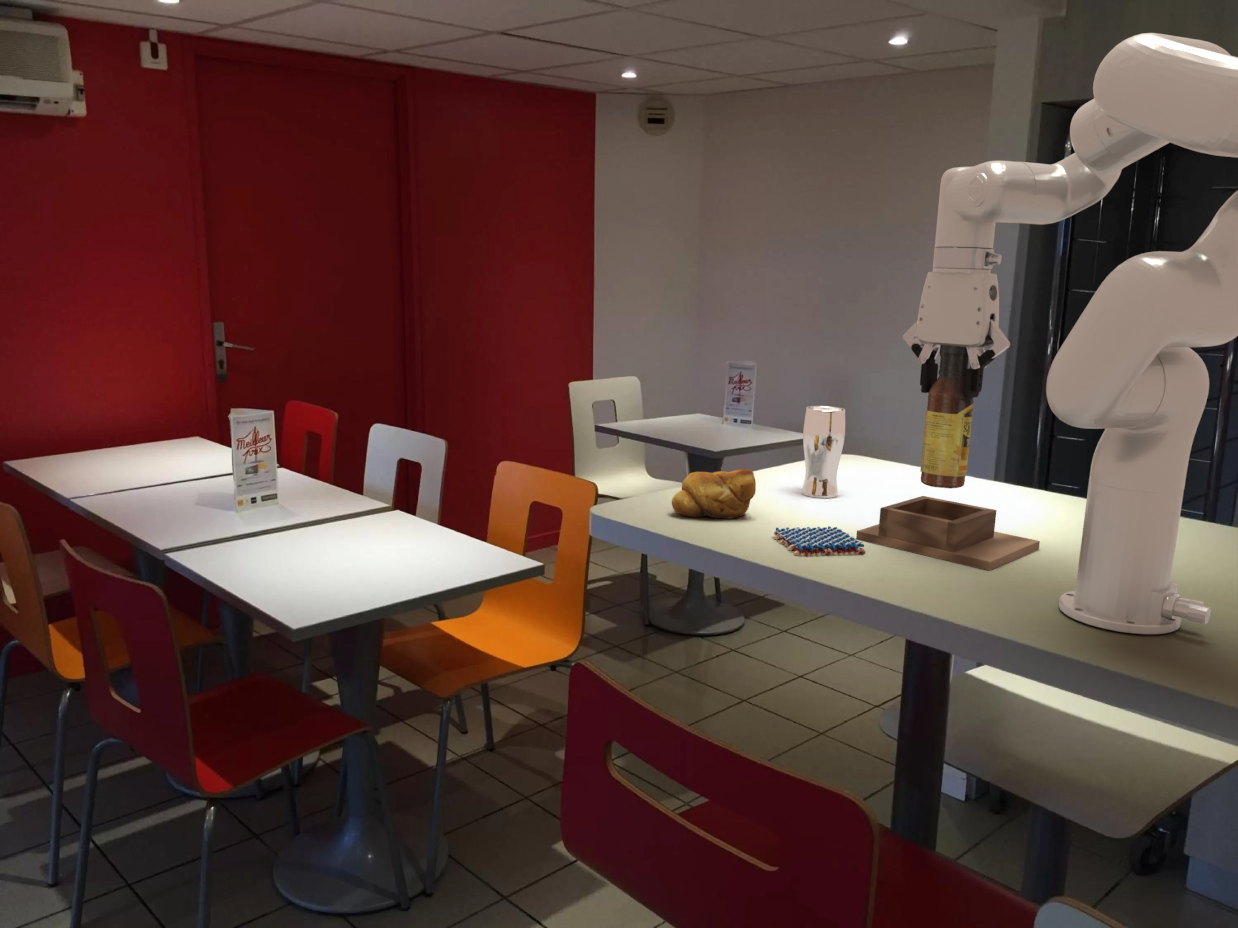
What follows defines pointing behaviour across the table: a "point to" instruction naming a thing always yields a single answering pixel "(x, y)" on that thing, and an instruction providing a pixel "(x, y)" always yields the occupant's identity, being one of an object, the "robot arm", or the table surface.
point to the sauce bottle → (947, 423)
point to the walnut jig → (947, 533)
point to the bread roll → (715, 494)
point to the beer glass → (822, 449)
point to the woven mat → (818, 541)
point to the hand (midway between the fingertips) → (949, 393)
